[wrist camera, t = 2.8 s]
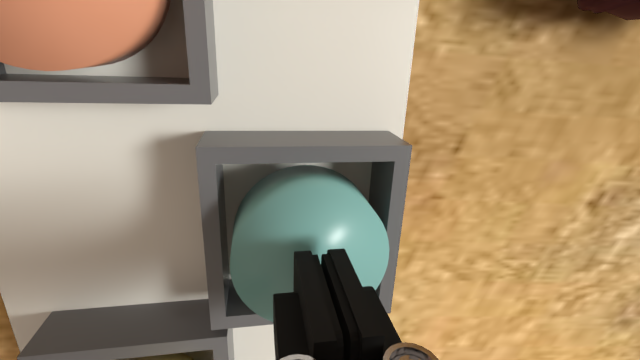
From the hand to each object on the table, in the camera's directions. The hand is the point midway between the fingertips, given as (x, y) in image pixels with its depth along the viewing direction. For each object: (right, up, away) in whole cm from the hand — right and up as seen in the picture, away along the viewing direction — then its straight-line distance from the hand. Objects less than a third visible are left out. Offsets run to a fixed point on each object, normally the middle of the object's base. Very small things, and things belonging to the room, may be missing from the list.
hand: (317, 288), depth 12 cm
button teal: (-1, +2, +3) cm, 3 cm away
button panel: (-5, +3, +6) cm, 9 cm away
